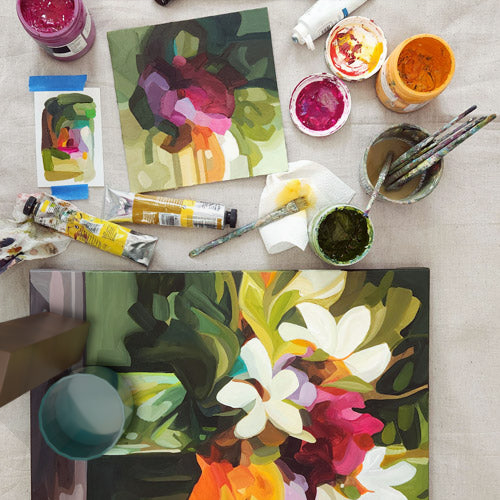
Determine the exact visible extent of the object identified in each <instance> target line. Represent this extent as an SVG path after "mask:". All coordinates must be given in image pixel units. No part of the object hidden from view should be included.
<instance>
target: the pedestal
mask: <svg viewBox="0 0 500 500" xmlns="http://www.w3.org/2000/svg"><path fill="white" fill-rule="evenodd" d="M90 328H91V321H87V320H83V319H79V318H75V317H72V316H68V315H67V316H66V315H63V314H59V313H56V312H51V311H47V310H46V311H42V312H37V313H34V314H29V315H25V316H21V317H17V318H12V319H9V320H5V321H1V322H0V409H1V408H3V407H5V406H7V405H8V404H10V403H12V402H13V401H15V400H16V399H18V398H20V397H21V396H24V395H25V394H27V393H29V392H30V391H32V390H34V389H36V388H38V387H39V386H41V385H43V384H44V383H46V382H47V381H49V380H51V379H53V378H54V377H56V376H58V375H59V374H62V373H63V372H65V371H66V370H68V369H70V368H72V367H73V366H75V365H76V364H79V363H81V362H82V359H83V355H84V351H85V347H86V343H87V339H88V335H89V330H90Z"/></svg>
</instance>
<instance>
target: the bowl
mask: <svg viewBox="0 0 500 500" xmlns="http://www.w3.org/2000/svg"><path fill="white" fill-rule="evenodd" d="M134 401H135V400H134V396H133V393H132V389H131V387H130V386H129V384H128V383H127V381H126V379H125V378H123V376H121V375H120V374H119V373H118V372H117V371H115V370H114V369H111V368H109V367H106V366H101V365H87V366H83V367H80V368H76V369H74V370H72V371H71V372H70V373H67V374H66V375H64V376H63V377H61V378H60V379H58V380H57V381H56V382H54V383H53V384H51V386H50V387H48V389H47V390H46V392H45V394H44V395H43V397H42V398H41V402H40V406H39V410H38V413H37V415H38V426H39V431H40V433H41V435H42V437H43V439H44V442H45V443H46V445H48V446H49V447H50V449H52V450H53V452H54V453H56V454H57V455H60V456H61V457H63V458H65V459H68V460H70V461H83V462H88V461H91V460H93V459H97V458H101V457H102V456H104V455H105V454H106V453H108V452H109V451H111V450H112V449H114V447H115V446H116V444H117V443H118V442H119V440H120V439H121V438H122V437H123V435H124V434H125V432H126V431H127V429H128V427H129V426H130V424H131V422H132V419H133V416H134V411H135V410H134V409H135V402H134Z"/></svg>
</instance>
